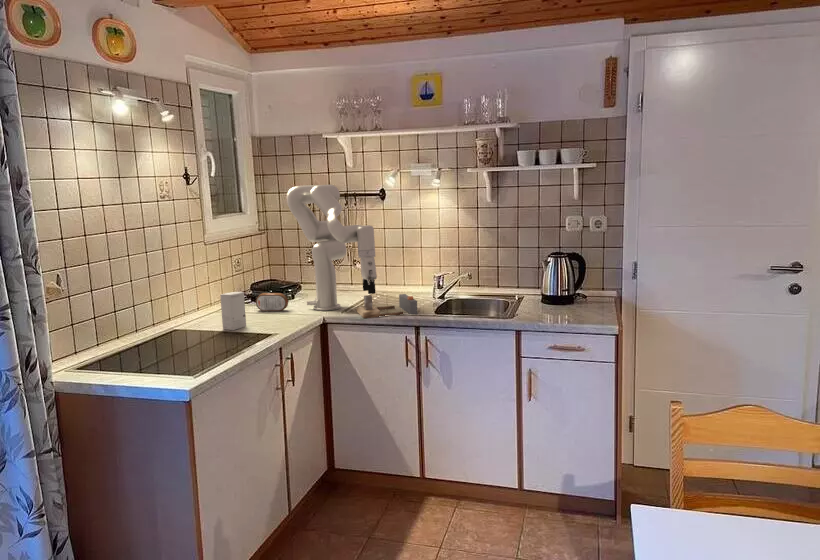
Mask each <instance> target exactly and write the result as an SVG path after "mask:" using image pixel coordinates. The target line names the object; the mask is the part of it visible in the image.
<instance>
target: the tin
mask: <svg viewBox="0 0 820 560" xmlns="http://www.w3.org/2000/svg"><path fill="white" fill-rule="evenodd" d="M255 305H256V307H257V309H259V310H260V311H261V312H282V311H283V310H285V309H286V308H287V307H288V306H289V300H288V297H287V295H285V294H284V293H281V292H262V293H260V294H259V295H258V296H257V297H256V299H255Z"/></svg>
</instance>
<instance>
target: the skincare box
mask: <svg viewBox="0 0 820 560" xmlns="http://www.w3.org/2000/svg"><path fill="white" fill-rule="evenodd" d="M219 295H220V305H221V306H220V307H221V308H220V309H221V310H220V311H221V322H222V329H223V330H227V331H235V330H239V329H241V328H245V327H247V318H246V317H247V315H246V305H245V304H246V303H245V302H246V301H245V292H244V291H243V292H242V291H231V292H225V293H221V294H219Z"/></svg>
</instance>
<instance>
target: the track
mask: <svg viewBox="0 0 820 560" xmlns="http://www.w3.org/2000/svg"><path fill="white" fill-rule="evenodd" d="M375 307H376V306H375ZM395 307H396V306H395V305H387V306H377V307H376V308H377V309H379V310H380V311H383V310H385V309H386V310H394V309H395ZM355 310H356V311H355V312H356V313H358V312H357V308H356V309H355ZM400 314H403V315H404V311H396V312H385V313H380V314H373V315H363V317H362V318H363V319H374V318H380V317H379V316H385V315H396V316H401V315H400ZM385 317H386V316H385Z"/></svg>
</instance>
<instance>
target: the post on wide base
mask: <svg viewBox="0 0 820 560" xmlns="http://www.w3.org/2000/svg"><path fill="white" fill-rule="evenodd" d="M363 303H364V304H363V306H359V307H357V308H356V309H357V312H356V313H358V314H359V315H360V316H361V317H362V318H363V315H373V314H381V310H379V309H377V308H376V306H374V305H373V296H372V294H368V295H364V296H363Z"/></svg>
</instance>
